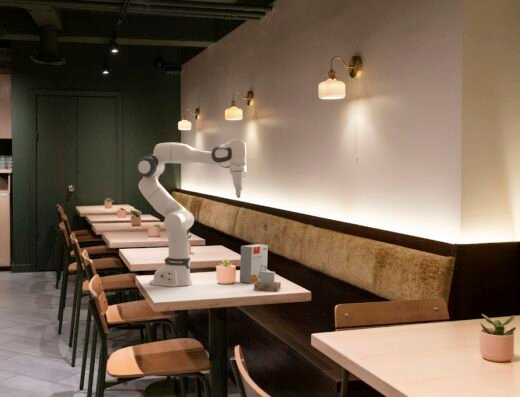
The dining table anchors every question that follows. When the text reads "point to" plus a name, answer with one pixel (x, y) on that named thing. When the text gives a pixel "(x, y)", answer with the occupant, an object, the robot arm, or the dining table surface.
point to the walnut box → (267, 286)
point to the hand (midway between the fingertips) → (238, 196)
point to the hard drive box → (253, 262)
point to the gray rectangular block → (267, 278)
